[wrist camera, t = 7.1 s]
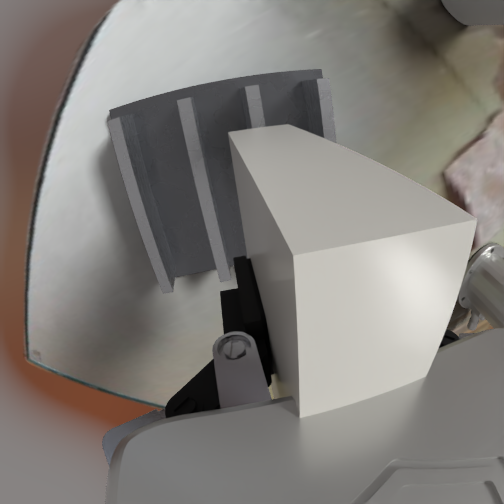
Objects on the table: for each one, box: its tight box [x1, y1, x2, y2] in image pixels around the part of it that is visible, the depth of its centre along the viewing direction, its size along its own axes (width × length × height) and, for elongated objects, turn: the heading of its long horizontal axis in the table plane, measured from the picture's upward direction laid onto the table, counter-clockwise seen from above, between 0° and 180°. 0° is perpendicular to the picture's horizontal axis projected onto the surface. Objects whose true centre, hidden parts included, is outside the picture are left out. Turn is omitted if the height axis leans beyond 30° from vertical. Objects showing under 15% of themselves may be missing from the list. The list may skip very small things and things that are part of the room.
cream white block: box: [228, 124, 477, 418], centre depth 10 cm, size 2×12×10 cm, turn 7°
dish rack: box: [108, 69, 336, 294], centre depth 26 cm, size 18×19×5 cm
